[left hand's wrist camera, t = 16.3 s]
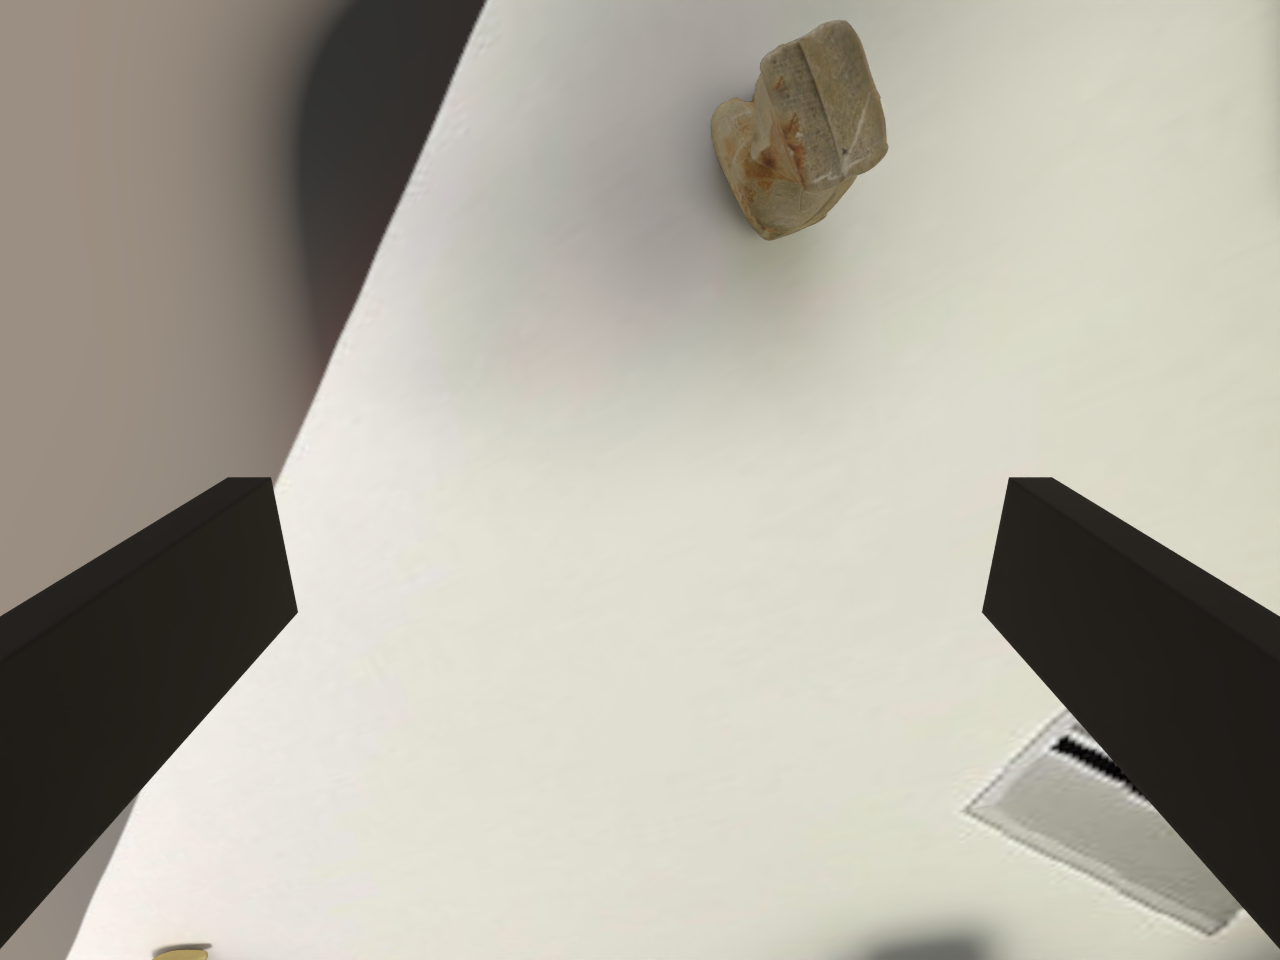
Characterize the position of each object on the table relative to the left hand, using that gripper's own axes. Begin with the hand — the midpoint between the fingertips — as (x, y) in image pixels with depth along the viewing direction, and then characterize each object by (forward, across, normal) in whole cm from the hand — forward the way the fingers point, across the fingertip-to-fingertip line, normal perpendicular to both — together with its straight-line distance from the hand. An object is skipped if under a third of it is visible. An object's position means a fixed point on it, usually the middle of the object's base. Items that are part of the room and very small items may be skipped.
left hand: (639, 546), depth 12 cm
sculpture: (+30, +7, +8) cm, 32 cm away
